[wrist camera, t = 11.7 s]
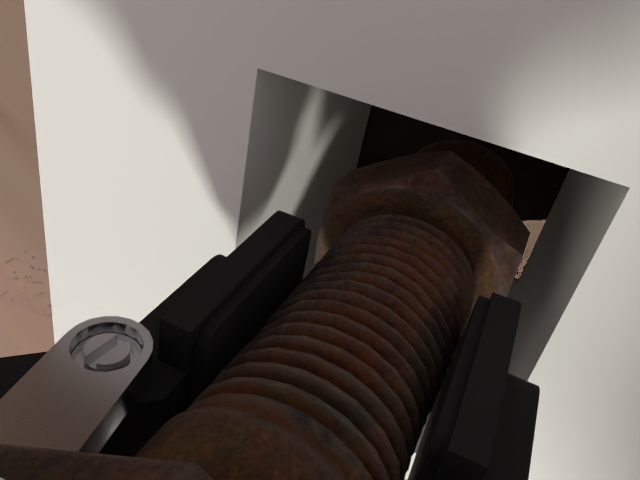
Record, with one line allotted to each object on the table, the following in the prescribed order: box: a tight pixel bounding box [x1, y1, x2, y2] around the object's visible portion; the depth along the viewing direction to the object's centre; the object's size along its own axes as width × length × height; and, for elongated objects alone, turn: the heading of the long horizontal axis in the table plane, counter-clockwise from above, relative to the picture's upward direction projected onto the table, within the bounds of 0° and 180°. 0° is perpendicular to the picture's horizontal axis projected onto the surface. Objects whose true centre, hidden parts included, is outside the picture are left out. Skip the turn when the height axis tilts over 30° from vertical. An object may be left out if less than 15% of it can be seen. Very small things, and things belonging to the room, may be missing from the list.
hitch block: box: [24, 0, 640, 480], centre depth 16 cm, size 17×18×9 cm
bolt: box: [0, 139, 530, 480], centre depth 11 cm, size 6×5×15 cm
